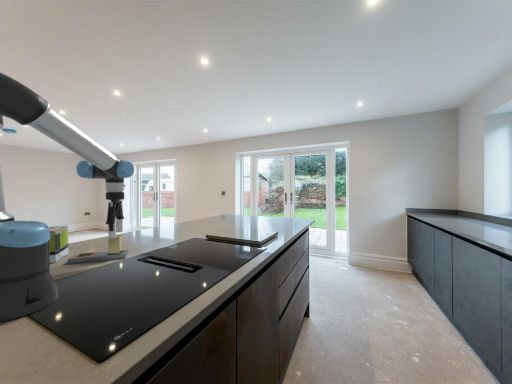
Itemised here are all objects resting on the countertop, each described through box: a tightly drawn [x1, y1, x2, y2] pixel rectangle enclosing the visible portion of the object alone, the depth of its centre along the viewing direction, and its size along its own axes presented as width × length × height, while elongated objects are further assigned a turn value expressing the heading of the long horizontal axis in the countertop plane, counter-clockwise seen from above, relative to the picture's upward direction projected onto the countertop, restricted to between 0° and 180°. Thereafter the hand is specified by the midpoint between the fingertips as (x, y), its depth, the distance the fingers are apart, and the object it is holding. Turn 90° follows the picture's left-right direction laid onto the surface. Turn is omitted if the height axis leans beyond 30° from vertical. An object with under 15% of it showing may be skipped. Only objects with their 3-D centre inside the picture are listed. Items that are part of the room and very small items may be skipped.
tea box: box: [48, 225, 70, 264], centre depth 98 cm, size 15×10×15 cm
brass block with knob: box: [107, 234, 123, 255], centre depth 102 cm, size 4×4×10 cm
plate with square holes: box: [67, 249, 130, 265], centre depth 99 cm, size 8×22×2 cm, turn 111°
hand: (115, 234), depth 102 cm, fingers open, 13 cm apart
